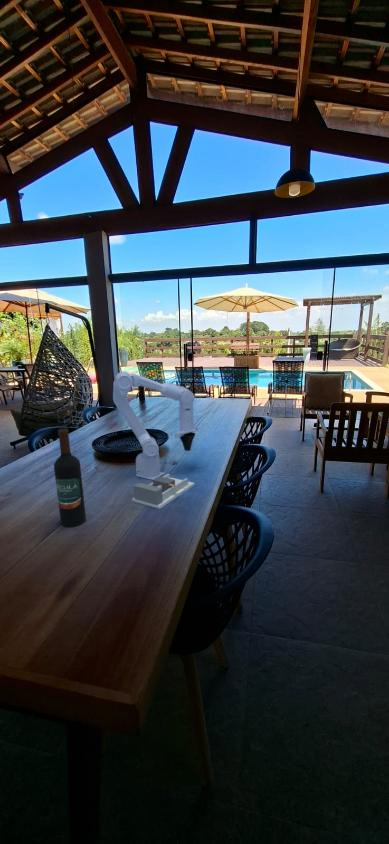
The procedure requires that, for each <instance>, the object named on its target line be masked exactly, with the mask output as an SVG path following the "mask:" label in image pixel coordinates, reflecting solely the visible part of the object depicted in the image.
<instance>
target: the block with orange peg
mask: <svg viewBox="0 0 389 844" xmlns="http://www.w3.org/2000/svg"><path fill="white" fill-rule="evenodd" d="M152 483H153V486H155V487H159V488H162V492H164V491H166V490H168V489H169V488H171V487H175V480H174V479H169V478H165V477H163V476H162V475H161V476H159V477H157V478H156V479H154V480H152Z"/></svg>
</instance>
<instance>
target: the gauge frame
mask: <svg viewBox="0 0 389 844" xmlns="http://www.w3.org/2000/svg"><path fill="white" fill-rule="evenodd" d="M162 477H165V478H169V479H174V480H175V487H171V488H169V489H168V490H166V491H164V492H162V488H159V487H155V486H153V482H151V483H149V484H147V483H142V482H138V483H135V484H134V485H133V497H132V499H131V500H132V502H134V503H138V504H142V505H145V506H149V507H152V508H156V509H162V508H163V507H164V506H166V505H168V504H169V503H171V502H172V501H174V500H175V499H176V498H178V497H180V496H181V495H183V494H184V493H186V492H187V491H189V490H190V489H191V488H193V487H194V486H195V482H192V481H189V479H188V478H187V477H185V478H184V479H180V478H179V479H178V478H174V477H170V473H168V474H164V475H162Z"/></svg>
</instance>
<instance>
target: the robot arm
mask: <svg viewBox="0 0 389 844" xmlns="http://www.w3.org/2000/svg"><path fill="white" fill-rule="evenodd" d="M132 386H133V387H134V388H138V387H143V388H147V389H150V390H153V391H157V392H160V393H159V394H160V395H161V396H162V397H164V398H167V399H170V400H174V401H179V402H178V404H179V405H178V412H179V413H178V414H179V429H178V430H177V431H175V432H174V438H176V439H180V441H181V444H182V445H183V449H184V451H185V452H186V451H187V452H190V451H191V449H192V444H193V441H194V439H195V437H196V433H195V432H197V431H199V425H198V424H197V425H196V424H194V422H195V421H194V401H195V395H194V393H193V392H192V391H191V390H189V389H188V388H186V387H184V386H179V385H176V384H173V382H171V381H168V382H167V381H166V382H163V383H160V382H158V381H155V380H153V379H151V378H147V377H145V376H143V375H140V374H136V373H131V372H130V373H129V372H127V371H120V372H118V373H117V374H116V375H115V378H114V381H113V390H112V400H113V403H114V405H115V406H116V408H117V409H118V411H119V412H120V414H121V415H122V417H123V419H124V420H125V422H127V425H128V426H129V428H130V429H131V430H132V432H133V433H134V435H135V437H136V439H138V441H139V444H140V446H141V448H142V451H141V453H139V454H137V456H136V458H135V469H136V470H135V471H136V474H135V475H134V476H135V477H138V478H143V479H147V480H152V481H153V480H154V479H156V478H157V477H159V476H161V477H162V476H164V475H166V474H165V472H162V471H161V468H160V467H161V465H160V453H159V452H160V449H159V447H160V446H159V445H158V443H157V440H156V439H155V438H154V437H153V436H151V435H150V434H149V432H148V431H147V430H146V428H145V426H144V424H143V423H142V422H141V421H140V418H139V417H138V416H137V413H136V412H135V410H134V409H133V408H132V406H131V405H130V403H129V401H128V400H127V398H128V397H127V396H128V393H129V391H130V390H131V388H132Z"/></svg>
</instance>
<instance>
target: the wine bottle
mask: <svg viewBox="0 0 389 844" xmlns="http://www.w3.org/2000/svg"><path fill="white" fill-rule="evenodd" d="M57 432H58V433H57V434H58V440H59V441H58V442H59V449H60V456H59V457H58V458H57V459H56V460H55V462H54V464H53V470H54V479H55V487H56V494H57V501H58V509H59V517H60V519H59V520H60V525H61V526H62V527H65V528H74V527H79V526H80V525H81V526H82V524H84V523H85V522H86V521H87V515H86V507H85V506H86V505H85V498H84V497H85V496H84V486H83V478H82V470H81V469H82V468H81V462H80V459H78V458H77V457H76V456H75V455H73V454H72V452H71V445H70V437H69V429H68V428H59V429H58V430H57Z"/></svg>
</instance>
